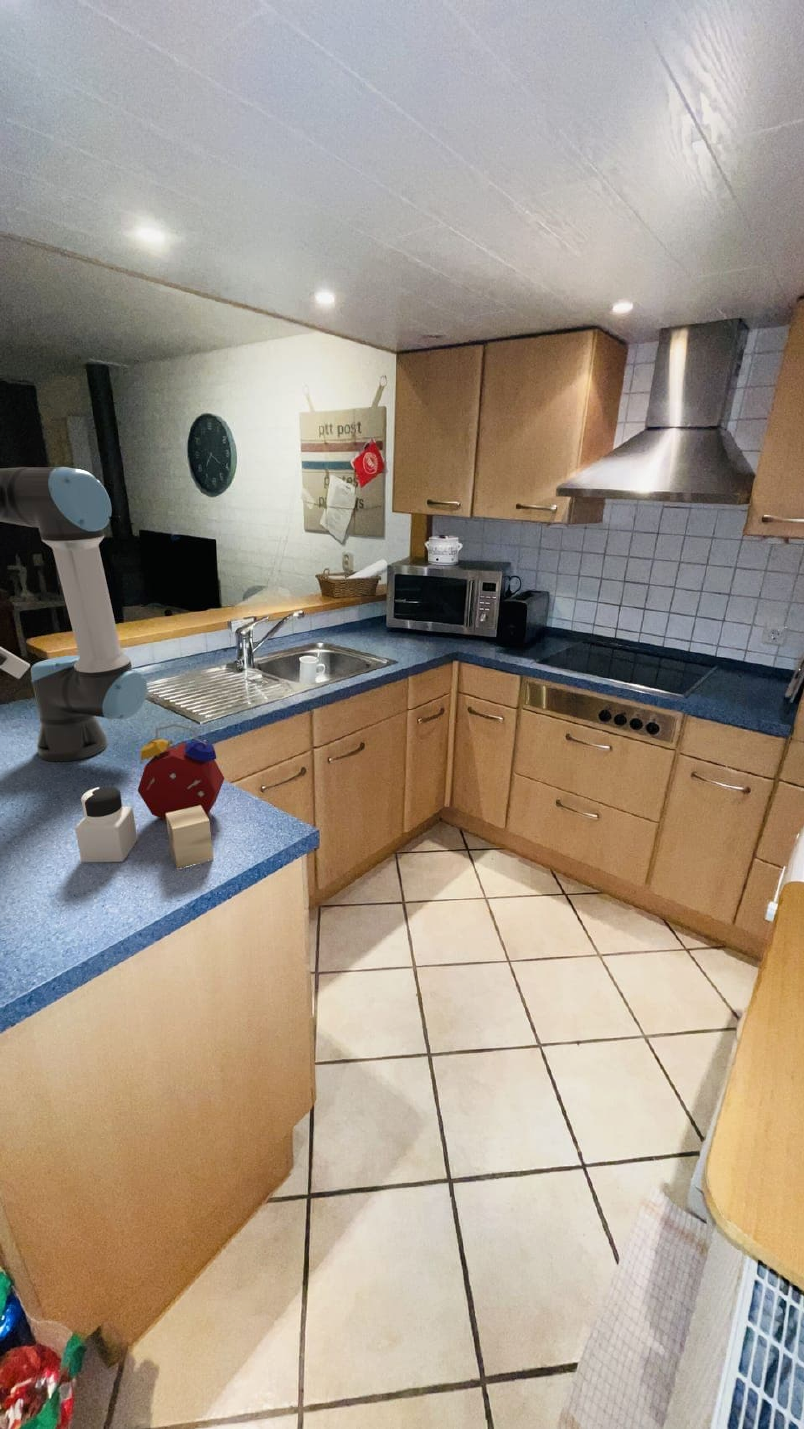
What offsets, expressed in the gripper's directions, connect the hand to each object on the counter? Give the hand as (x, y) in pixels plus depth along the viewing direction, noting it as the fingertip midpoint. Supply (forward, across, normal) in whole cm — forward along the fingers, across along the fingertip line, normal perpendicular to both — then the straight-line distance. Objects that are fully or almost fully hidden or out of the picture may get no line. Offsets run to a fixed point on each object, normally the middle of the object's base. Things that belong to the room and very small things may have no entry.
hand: (24, 671), depth 97 cm
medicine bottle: (+28, +10, -18) cm, 34 cm away
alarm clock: (+38, +6, -8) cm, 39 cm away
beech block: (+36, +19, -9) cm, 42 cm away
